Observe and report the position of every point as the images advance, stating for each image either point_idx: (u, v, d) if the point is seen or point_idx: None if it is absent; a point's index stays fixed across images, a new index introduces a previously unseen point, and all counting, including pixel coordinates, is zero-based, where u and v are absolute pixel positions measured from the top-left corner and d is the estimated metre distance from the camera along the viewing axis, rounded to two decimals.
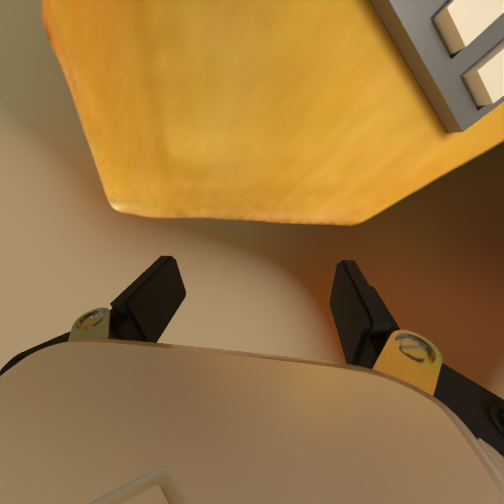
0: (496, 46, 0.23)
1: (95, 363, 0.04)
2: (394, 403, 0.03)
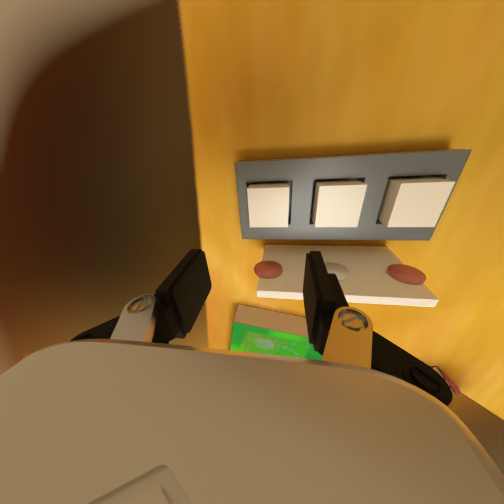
0: None
1: (95, 363, 0.04)
2: (394, 403, 0.03)
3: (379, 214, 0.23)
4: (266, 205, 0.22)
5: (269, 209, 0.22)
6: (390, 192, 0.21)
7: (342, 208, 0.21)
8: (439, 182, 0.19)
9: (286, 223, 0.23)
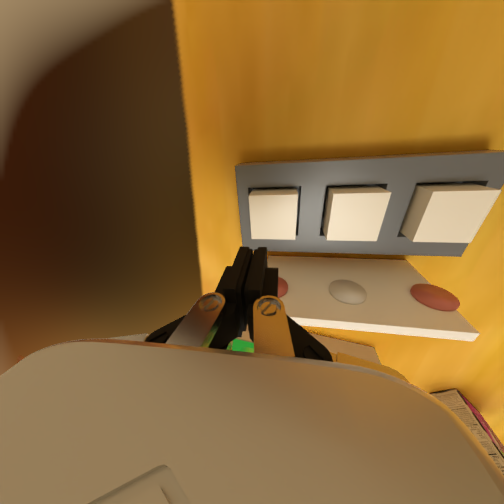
0: None
1: (95, 363, 0.04)
2: (394, 403, 0.03)
3: (402, 225, 0.20)
4: (270, 214, 0.19)
5: (274, 219, 0.19)
6: (417, 201, 0.18)
7: (360, 219, 0.18)
8: (481, 190, 0.15)
9: (293, 235, 0.20)
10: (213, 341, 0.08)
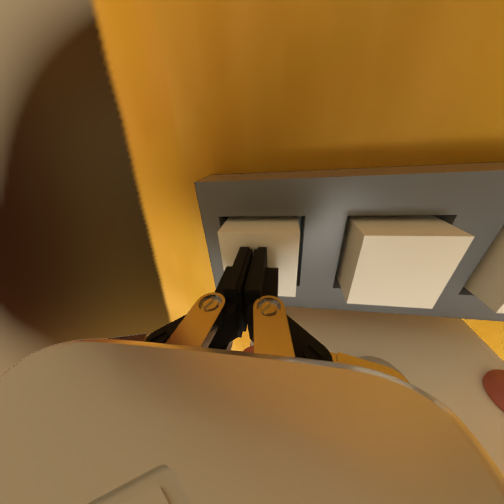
0: None
1: (95, 363, 0.04)
2: (394, 403, 0.03)
3: None
4: None
5: None
6: None
7: (408, 276, 0.10)
8: None
9: (292, 291, 0.13)
10: (213, 341, 0.08)
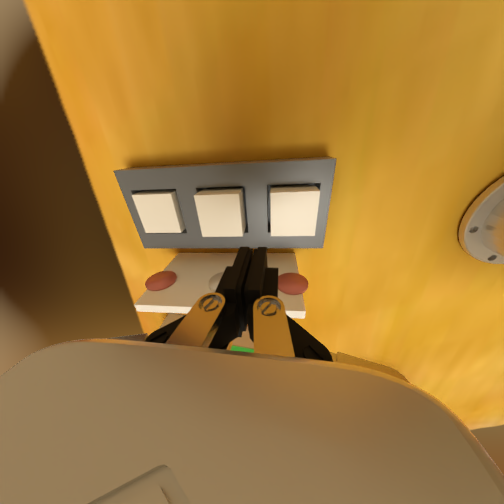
0: None
1: (95, 363, 0.04)
2: (394, 403, 0.03)
3: None
4: (154, 211, 0.22)
5: (159, 215, 0.23)
6: None
7: (223, 217, 0.20)
8: (306, 191, 0.18)
9: (178, 228, 0.23)
10: (213, 341, 0.08)
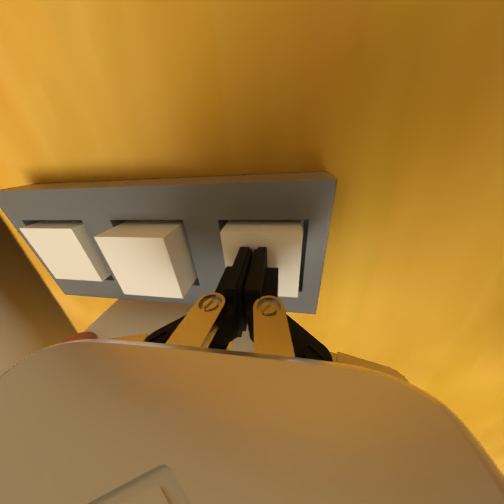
0: None
1: (95, 363, 0.04)
2: (394, 403, 0.03)
3: None
4: (57, 251, 0.15)
5: (65, 257, 0.15)
6: None
7: (146, 270, 0.12)
8: (279, 233, 0.11)
9: (97, 276, 0.15)
10: (213, 341, 0.08)
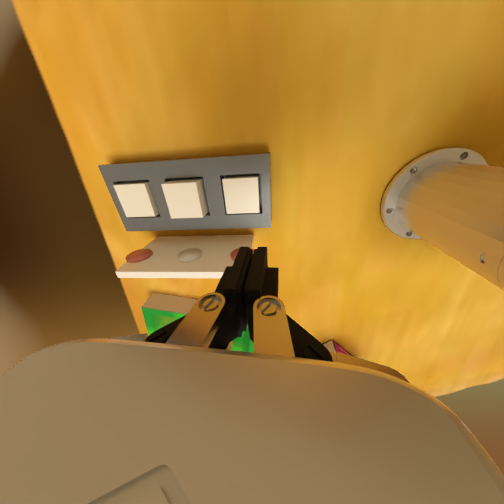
0: None
1: (95, 363, 0.04)
2: (394, 403, 0.03)
3: None
4: (132, 198, 0.28)
5: (136, 202, 0.28)
6: None
7: (185, 201, 0.26)
8: (248, 178, 0.25)
9: (153, 213, 0.28)
10: (213, 341, 0.08)
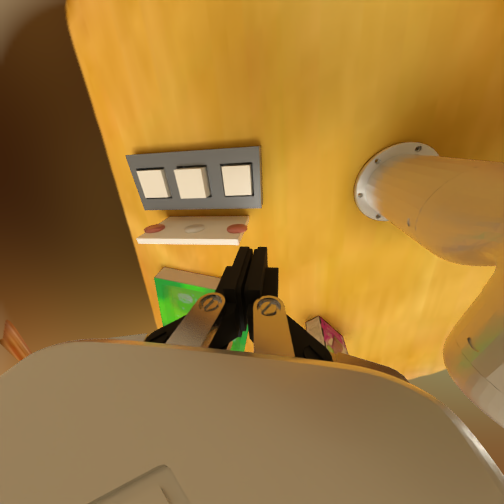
0: None
1: (95, 363, 0.04)
2: (394, 403, 0.03)
3: None
4: (150, 182, 0.34)
5: (153, 185, 0.35)
6: None
7: (192, 184, 0.32)
8: (242, 165, 0.31)
9: (166, 194, 0.35)
10: (213, 341, 0.08)
